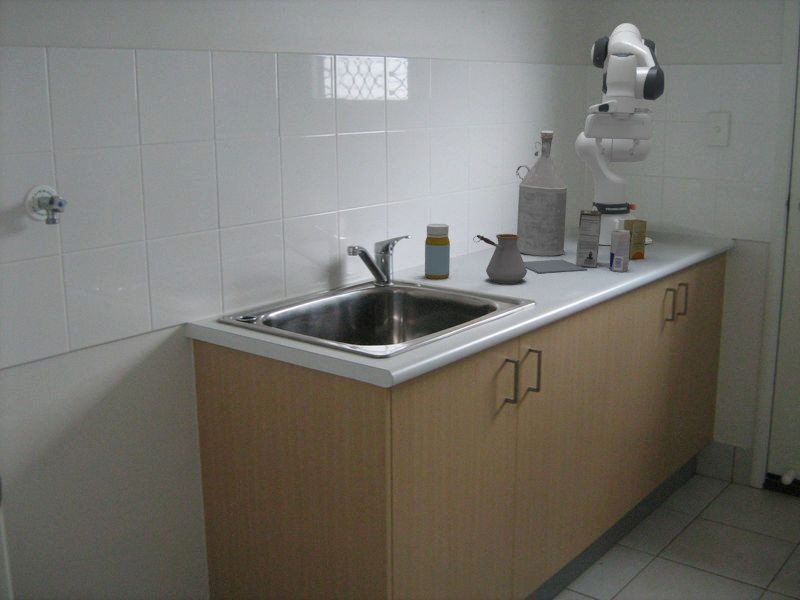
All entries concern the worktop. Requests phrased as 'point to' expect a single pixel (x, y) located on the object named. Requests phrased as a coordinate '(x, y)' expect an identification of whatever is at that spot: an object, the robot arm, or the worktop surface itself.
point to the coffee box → (588, 238)
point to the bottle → (437, 251)
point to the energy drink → (619, 250)
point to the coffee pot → (505, 260)
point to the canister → (542, 205)
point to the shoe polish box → (636, 237)
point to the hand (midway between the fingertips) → (616, 154)
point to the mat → (552, 266)
